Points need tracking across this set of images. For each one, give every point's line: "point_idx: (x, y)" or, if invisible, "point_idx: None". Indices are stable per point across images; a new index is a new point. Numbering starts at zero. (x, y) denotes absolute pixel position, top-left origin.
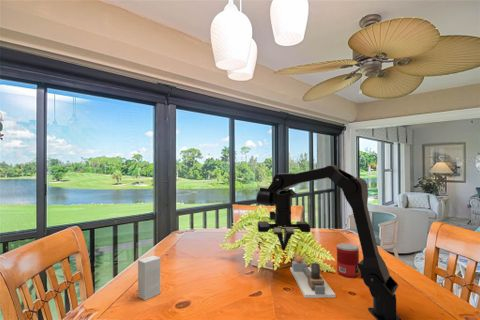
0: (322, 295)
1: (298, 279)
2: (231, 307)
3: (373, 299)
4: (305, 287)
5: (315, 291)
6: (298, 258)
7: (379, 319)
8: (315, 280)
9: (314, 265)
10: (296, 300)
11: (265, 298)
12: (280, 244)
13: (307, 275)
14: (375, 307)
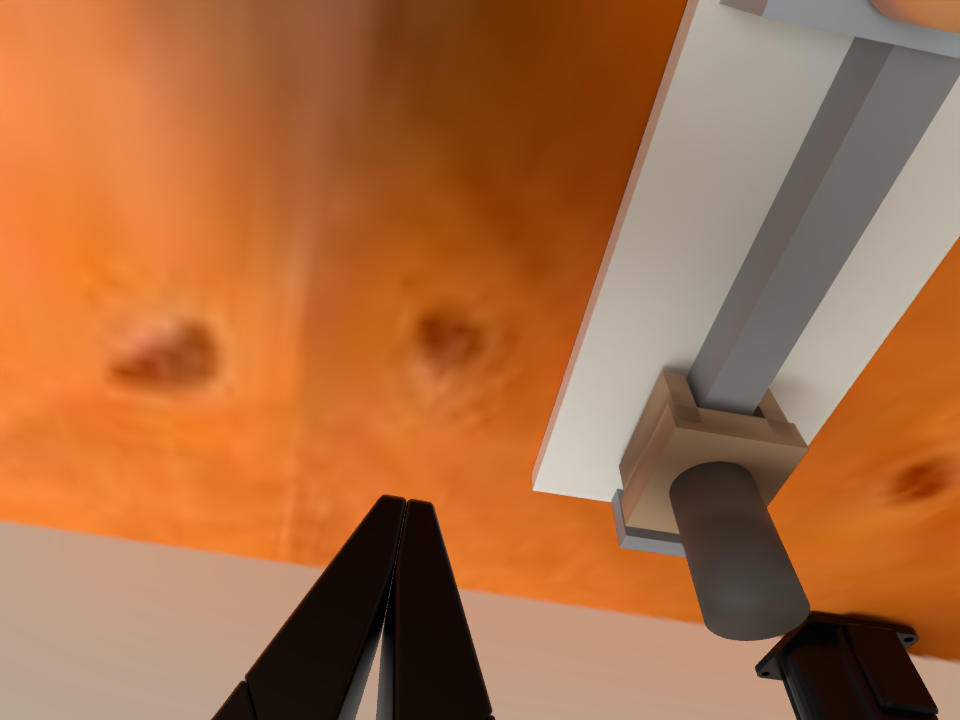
0: None
1: (632, 258)
2: (21, 473)
3: (823, 716)
4: (600, 411)
5: (615, 515)
6: (925, 21)
7: (765, 668)
8: (669, 526)
9: (722, 628)
10: (458, 484)
11: (243, 430)
12: (318, 582)
13: (670, 435)
14: (797, 691)
